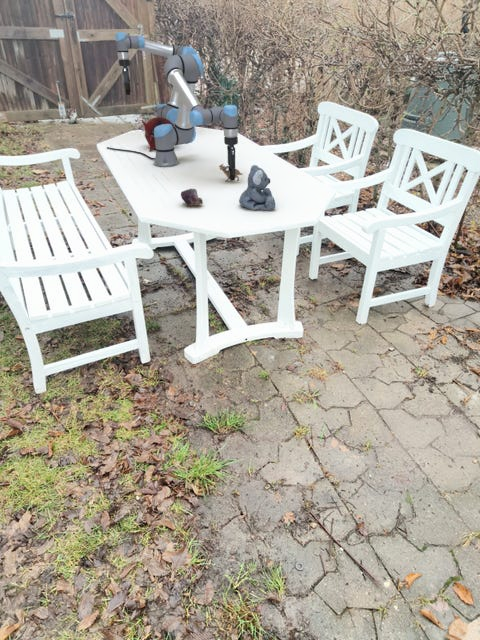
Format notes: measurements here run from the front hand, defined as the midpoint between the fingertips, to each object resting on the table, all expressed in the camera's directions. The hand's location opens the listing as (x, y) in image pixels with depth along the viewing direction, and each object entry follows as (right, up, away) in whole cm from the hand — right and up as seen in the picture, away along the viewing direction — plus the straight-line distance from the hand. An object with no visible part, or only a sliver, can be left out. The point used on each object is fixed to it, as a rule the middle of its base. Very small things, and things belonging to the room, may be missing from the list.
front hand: (231, 178), depth 261 cm
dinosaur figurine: (0, -1, 0) cm, 1 cm away
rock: (-20, -23, -29) cm, 43 cm away
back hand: (-75, +80, +60) cm, 125 cm away
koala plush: (+13, -24, -31) cm, 42 cm away
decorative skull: (-52, +44, +69) cm, 97 cm away
